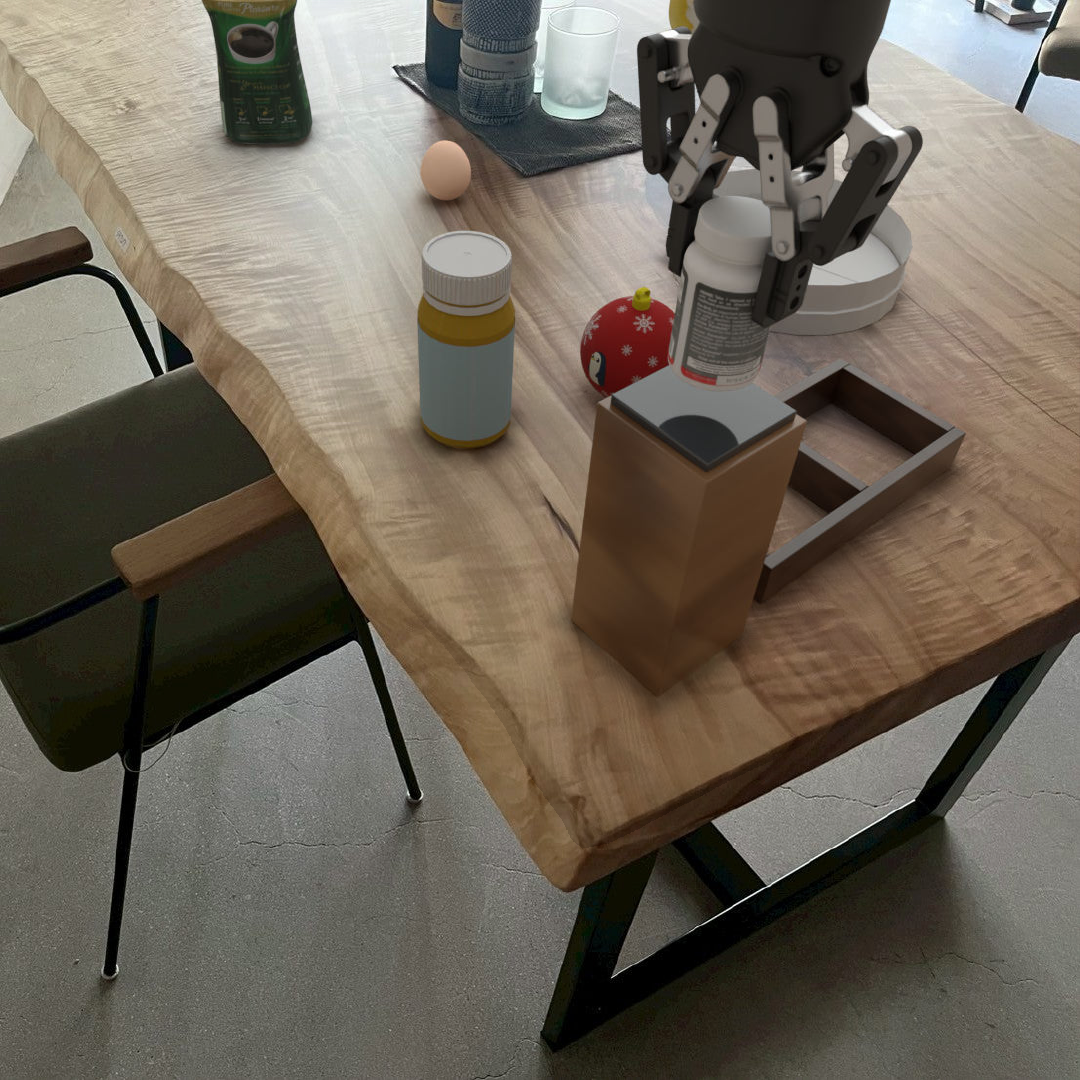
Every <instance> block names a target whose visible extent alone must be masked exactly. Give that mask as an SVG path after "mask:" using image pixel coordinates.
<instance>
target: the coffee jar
mask: <svg viewBox="0 0 1080 1080" xmlns="http://www.w3.org/2000/svg"><path fill="white" fill-rule="evenodd" d="M201 3H202V5H203V7H204V9H205V10H206V13H207V14H208V17H209V19H210V23H211V28H212V33H213V41H214V46H215V55H216V56H215V57H216V64H217V78H218V79H217V80H218V92H219V104H220V105H219V106H220V114H221V115H220V116H221V123H222V128H223V129H222V130H223V134H225V136H226V137H227V138H228V139H230V140H232V141H233V142H235V143H237V144H247V145H278V144H279V145H283V144H295V143H299V142H300V141H302V140H304V139H305V138H307V137H308V136H309V135H310V133H311V131H312V128H313V114H312V109H311V103H310V98H309V93H308V88H307V83H306V78H305V75H304V70H303V66H302V61H301V55H300V50H299V44H298V38H297V37H298V36H297V31H296V30H297V29H296V22H295V21H296V20H295V12H296V7H297V4H298V0H201Z"/></svg>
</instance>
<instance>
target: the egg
mask: <svg viewBox="0 0 1080 1080" xmlns="http://www.w3.org/2000/svg"><path fill="white" fill-rule="evenodd" d="M471 177H472V168H471V163H470V160H469V158H468V155H467V154H466V153H465V151H464V150H463V148H462V147H461V146H460V145H459V144H458V143H456V142H454V141H451V140H439V141H437V142H435V143H434V144H432V145H430V147H428V149H427V150H426V152H425V153H424V155H423V157H422V160H421V164H420V179H421V182H422V185H423V187H424V188H425V190H426V192H428V193H429V194H430V196H432V197H434V198H435V199H438V200H440V201H441V200H442V201H452V200H455V199H458V198H459V197H460V196H462V195H463V194H464V193H465V192H466V191H467V189H468V187H469V185H470V184H471Z"/></svg>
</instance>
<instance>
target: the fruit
mask: <svg viewBox="0 0 1080 1080" xmlns="http://www.w3.org/2000/svg"><path fill="white" fill-rule="evenodd" d="M668 21H669V25H670V29H674V28H678V27H681V26H685V27H687V28H688V29H689V30H690V31H691V33H692V34H693V33H694V31H695V30H696V28H697V27H698V25H699V23H700V22H699V20H698V18H697V17H696V14H695V11H694V0H669V4H668Z"/></svg>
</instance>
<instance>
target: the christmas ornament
mask: <svg viewBox="0 0 1080 1080" xmlns="http://www.w3.org/2000/svg"><path fill="white" fill-rule="evenodd" d="M674 316H675V311H673V310H672V309H671V307H669V306H668V305H666V304H664V303H663V302H661V301H659V300H657V299H655V298H652V297H651V290H650V289H649V288H648V287H646V286H642V287H640V288H638V289H636V291H635V292H634V295H628V296H622V297H619V298H616V299H613V300H612V301H609V302H608V303H606V304H604V305H603V306H602V307H601V308H599V309H598V310H597V311H596V312H595V313H594V314H593V315H592V317H591V318H590V320H589V321H588V322H587V324H586V326H585V328H584V330H583V333H582V336H581V339H580V340H581V341H580V346H579V347H580V348H579V356H580V363H581V367H582V370H583V373H584V375H585V377H586V379H587V381H588V382H589V384H590V386H591V387H592V388H593V389H594V390H595V391H596V392H597V393H598V394H600V395H601V396H602V397H603V398H604V399H605V398H607V397H609V396H611V395H612V394H614V393H616V392H618V391H620V390H622V389H624V388H626V387H628V386H629V385H631V384H633V383H635V382H637V381H639V380H641V379H643V378H645V377H647V376H649V375H651V374H653V373H655V372H657V371H659V370H661V369H663V368H665V367H667V366H668V365H669V362H668V351H669V345H670V339H671V333H672V327H673V322H674Z"/></svg>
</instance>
